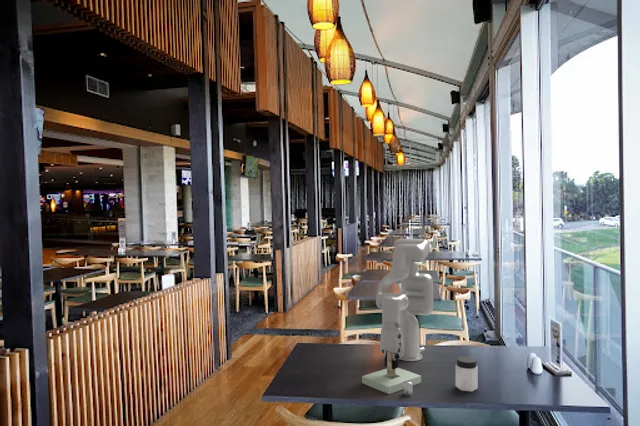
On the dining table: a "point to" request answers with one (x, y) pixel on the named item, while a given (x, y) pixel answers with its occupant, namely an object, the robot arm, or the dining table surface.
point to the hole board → (390, 380)
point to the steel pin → (408, 388)
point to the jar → (466, 374)
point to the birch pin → (390, 364)
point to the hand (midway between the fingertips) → (391, 366)
